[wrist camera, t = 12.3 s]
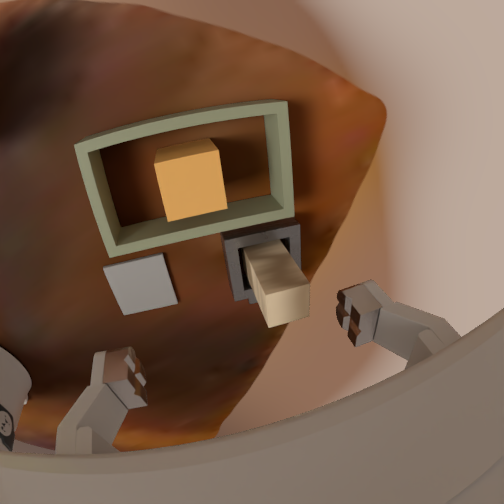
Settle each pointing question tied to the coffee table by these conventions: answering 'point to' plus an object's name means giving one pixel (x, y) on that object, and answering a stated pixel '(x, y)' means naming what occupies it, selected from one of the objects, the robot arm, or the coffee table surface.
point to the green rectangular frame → (199, 225)
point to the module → (190, 179)
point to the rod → (276, 282)
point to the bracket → (250, 236)
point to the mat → (141, 284)
